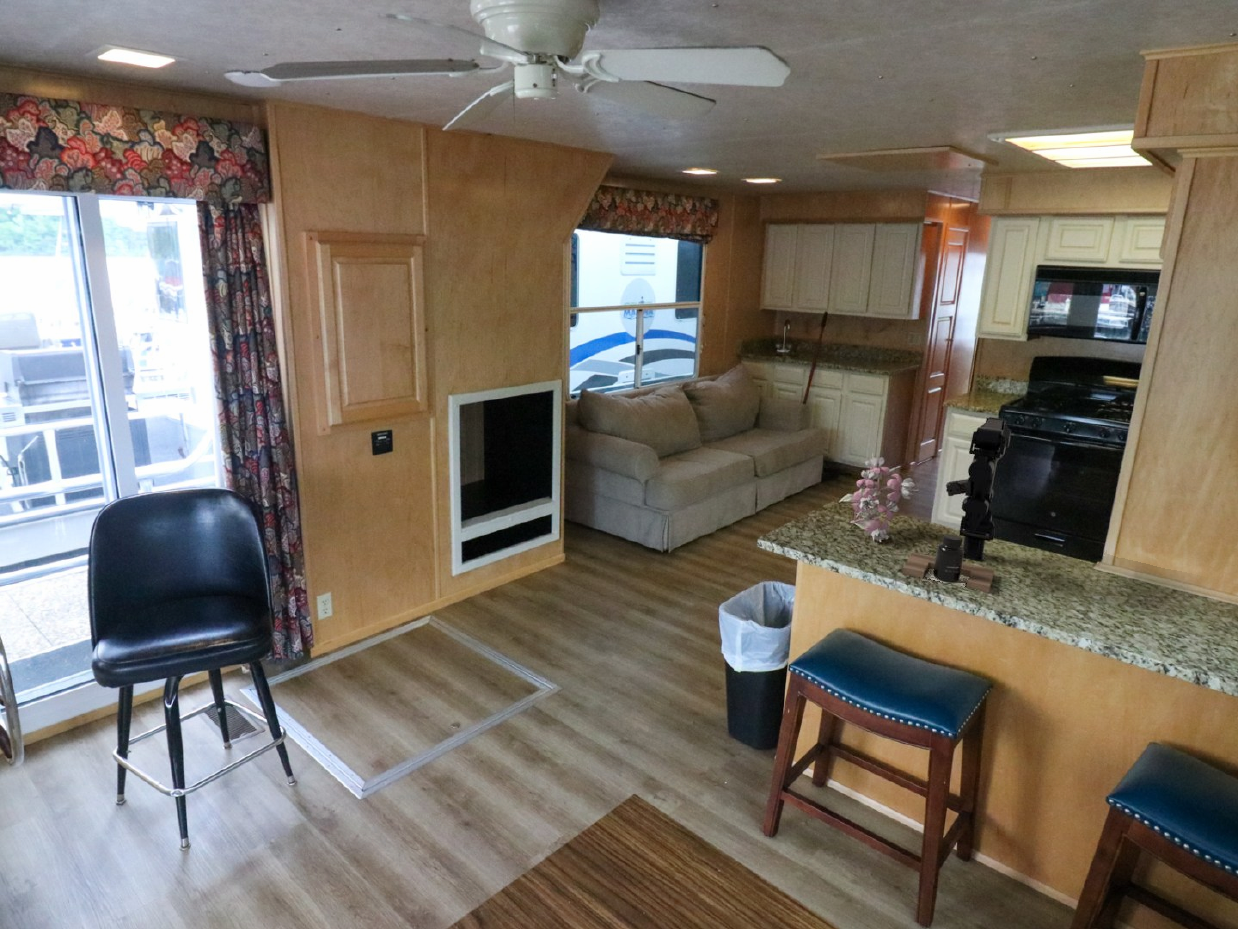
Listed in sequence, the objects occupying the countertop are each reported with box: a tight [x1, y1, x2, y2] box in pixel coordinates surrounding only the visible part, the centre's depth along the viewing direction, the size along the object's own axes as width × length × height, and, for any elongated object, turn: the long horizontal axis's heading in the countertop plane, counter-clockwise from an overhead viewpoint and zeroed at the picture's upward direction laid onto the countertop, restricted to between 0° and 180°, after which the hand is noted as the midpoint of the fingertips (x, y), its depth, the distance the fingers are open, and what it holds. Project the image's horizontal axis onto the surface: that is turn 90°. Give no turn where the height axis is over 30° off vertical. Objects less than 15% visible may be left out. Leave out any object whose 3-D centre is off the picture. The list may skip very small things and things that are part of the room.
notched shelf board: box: [901, 551, 996, 594], centre depth 214 cm, size 14×22×2 cm, turn 60°
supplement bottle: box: [933, 533, 964, 582], centre depth 210 cm, size 7×7×12 cm
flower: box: [838, 452, 920, 543], centre depth 243 cm, size 20×22×25 cm
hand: (973, 527), depth 214 cm, fingers open, 9 cm apart
